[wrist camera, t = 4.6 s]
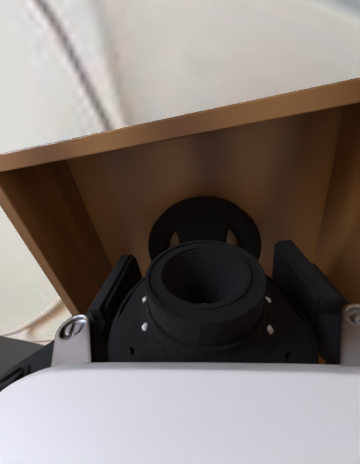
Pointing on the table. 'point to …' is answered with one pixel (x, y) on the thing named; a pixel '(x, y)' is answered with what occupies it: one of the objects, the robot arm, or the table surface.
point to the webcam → (209, 296)
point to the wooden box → (195, 186)
